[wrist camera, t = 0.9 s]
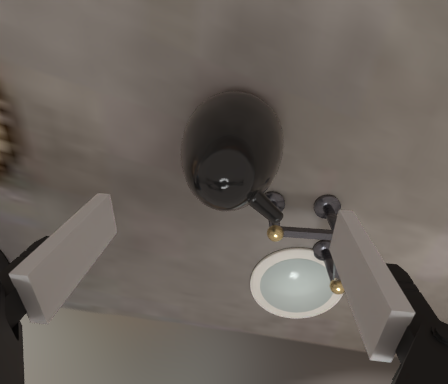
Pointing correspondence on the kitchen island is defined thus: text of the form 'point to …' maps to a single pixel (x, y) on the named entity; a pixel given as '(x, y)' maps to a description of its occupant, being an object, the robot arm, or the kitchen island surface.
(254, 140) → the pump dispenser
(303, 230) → the metal corner railing
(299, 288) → the coaster
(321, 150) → the kitchen island surface
